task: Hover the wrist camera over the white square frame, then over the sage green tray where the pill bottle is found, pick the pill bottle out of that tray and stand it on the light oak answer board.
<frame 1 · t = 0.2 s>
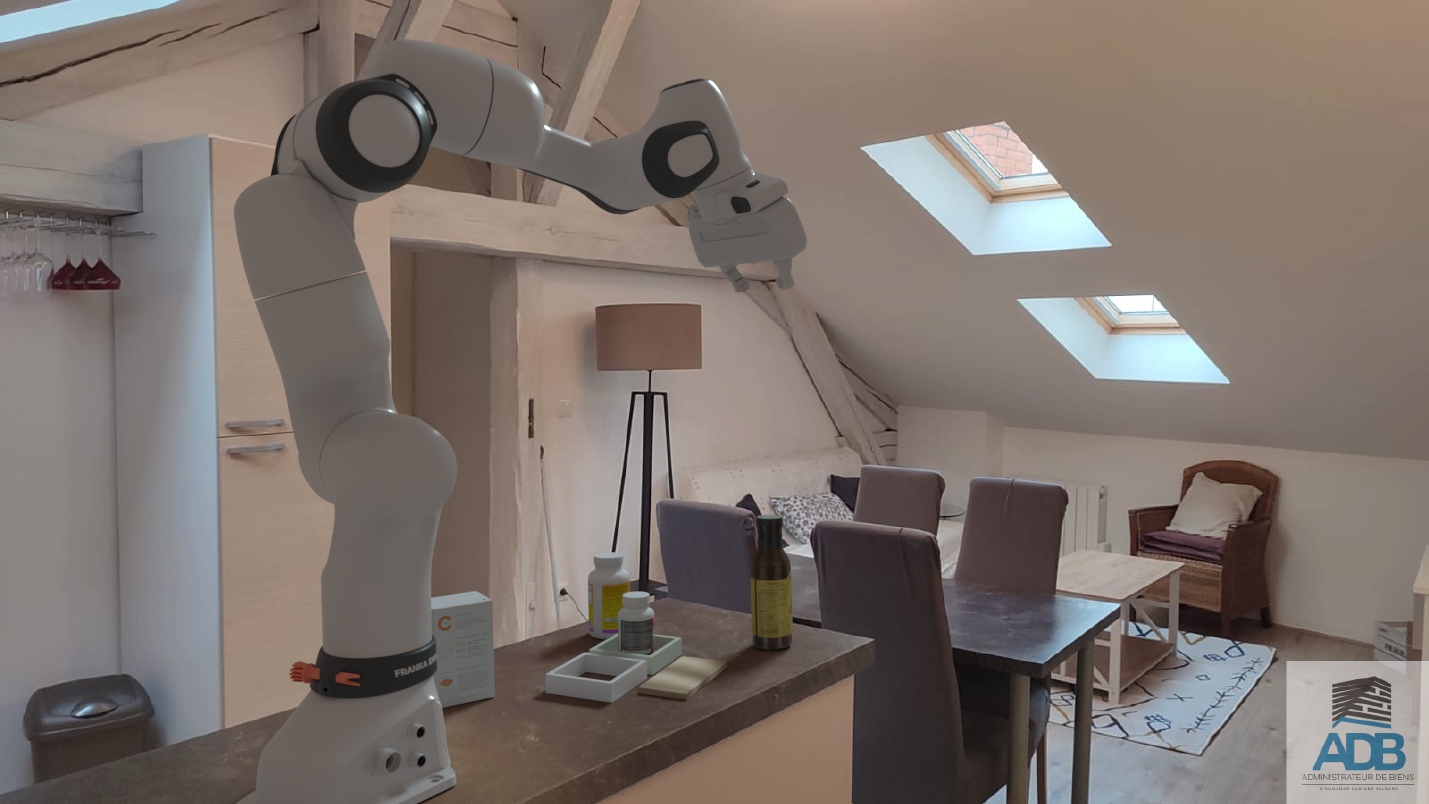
hand: (764, 289, 136), 54 cm above the kitchen counter, tool tilted 30°, fingers open, 8 cm apart
white square frame: (597, 685, 131), on the kitchen counter
answer board: (684, 679, 133), on the kitchen counter
pill bottle: (636, 661, 141), resting in sage tray
small box: (457, 698, 127), on the kitchen counter
supplement bottle: (609, 635, 155), on the kitchen counter
sauce bottle: (771, 646, 148), on the kitchen counter
sage tray: (636, 660, 141), on the kitchen counter
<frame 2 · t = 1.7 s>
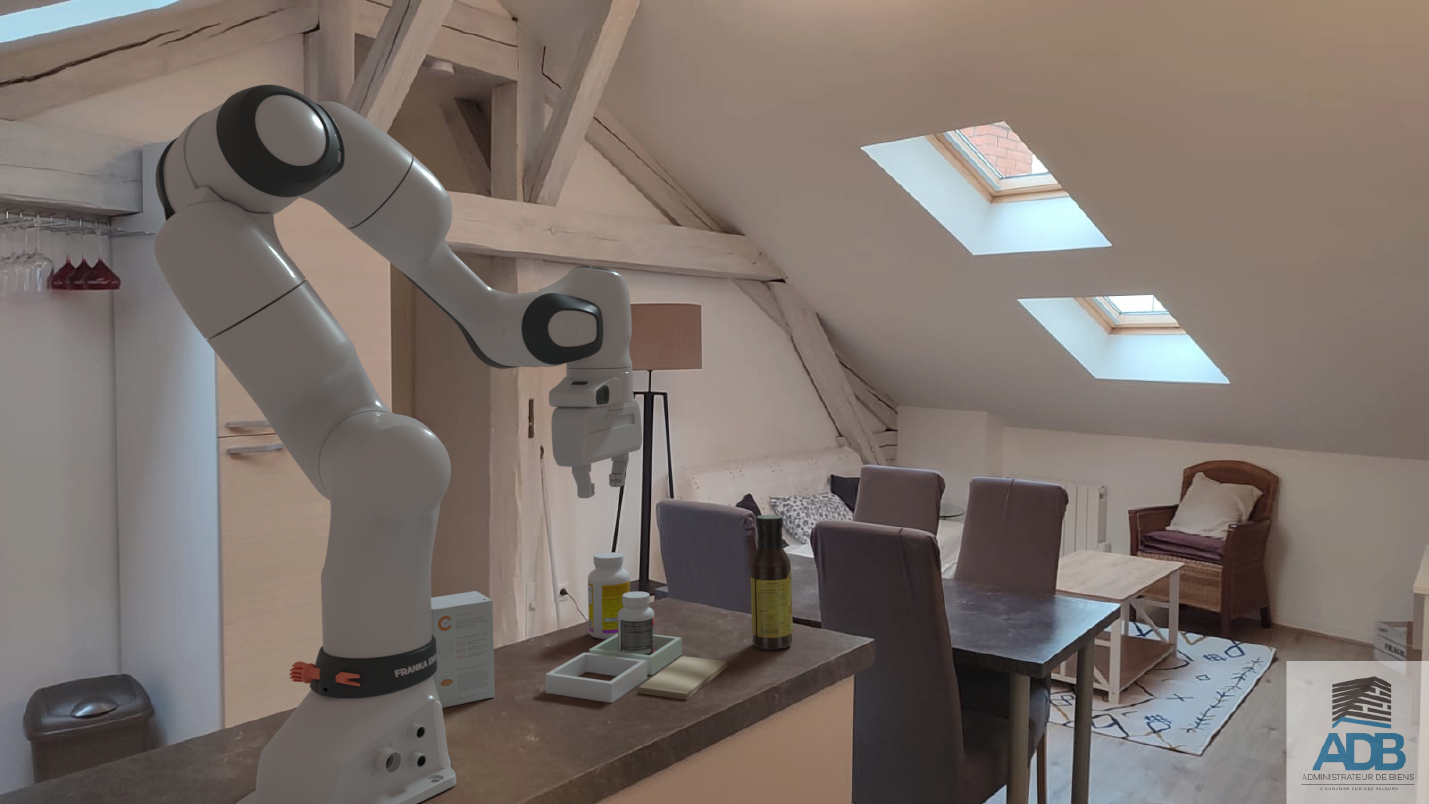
hand: (602, 491, 131), 26 cm above the kitchen counter, tool pointing down, fingers open, 8 cm apart
nothing on the kitchen counter moved.
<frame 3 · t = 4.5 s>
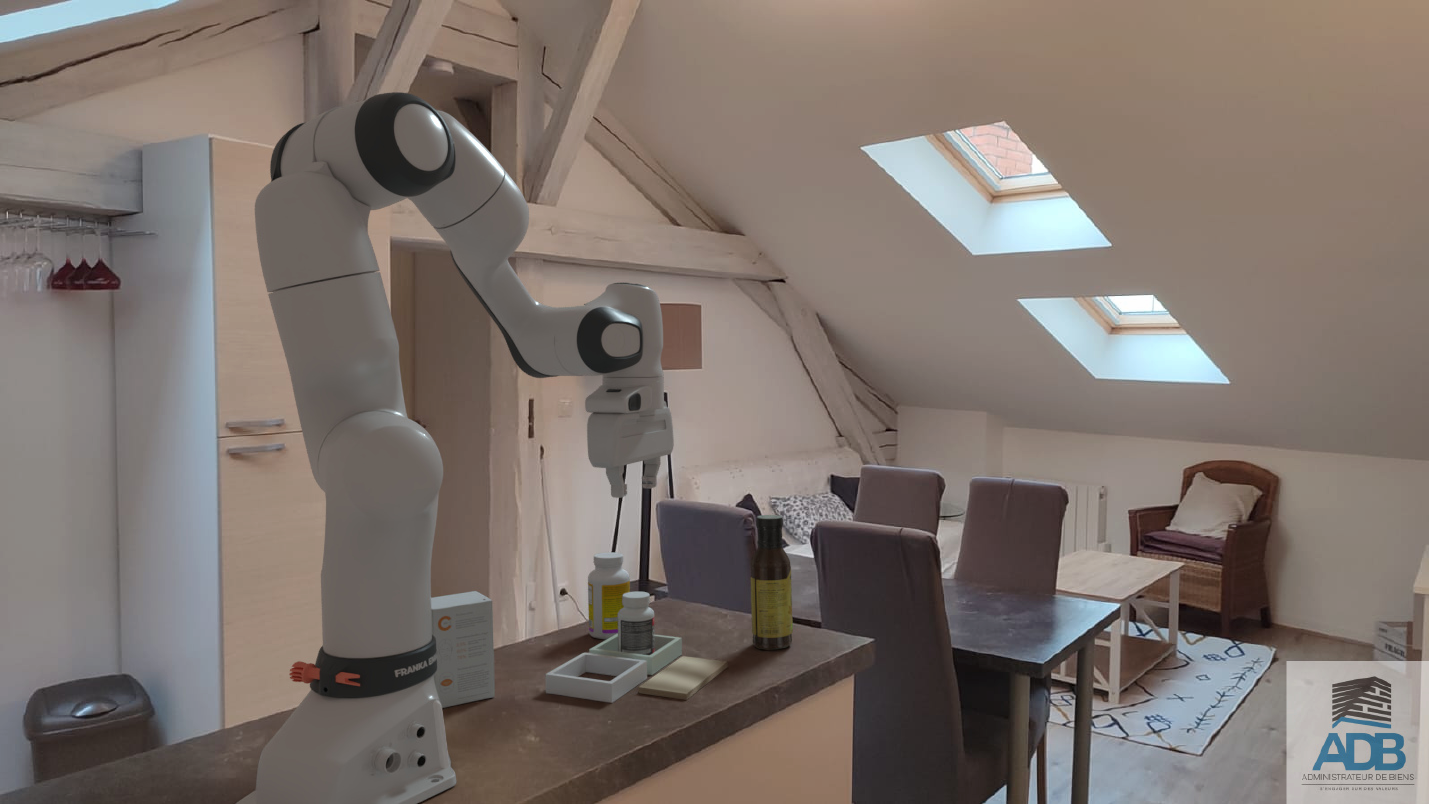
hand: (634, 492, 140), 25 cm above the kitchen counter, tool pointing down, fingers open, 8 cm apart
nothing on the kitchen counter moved.
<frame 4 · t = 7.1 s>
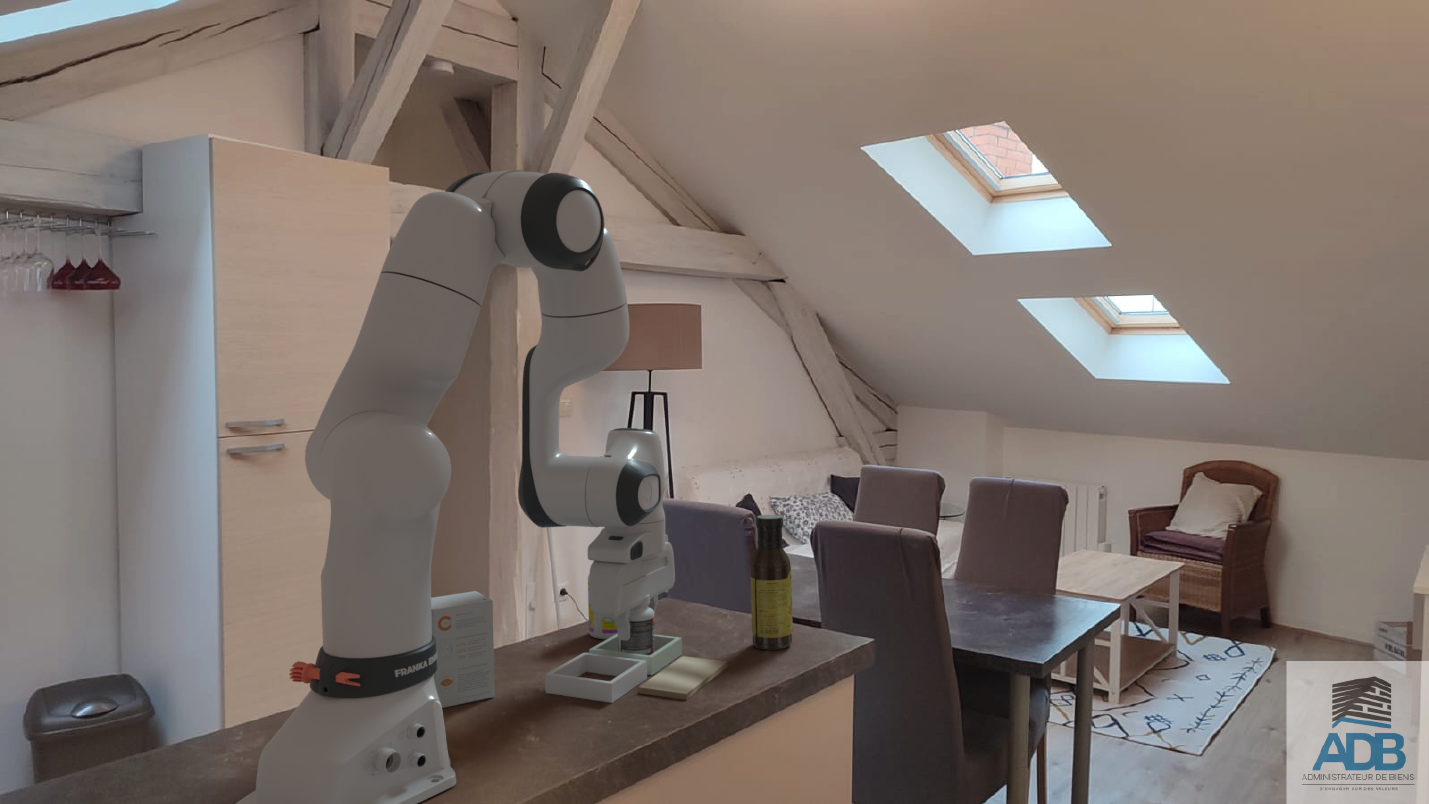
hand: (636, 632, 141), 4 cm above the kitchen counter, tool pointing down, fingers closed on pill bottle, 5 cm apart
pill bottle: (636, 661, 141), resting in sage tray, touching gripper
everything else where it was.
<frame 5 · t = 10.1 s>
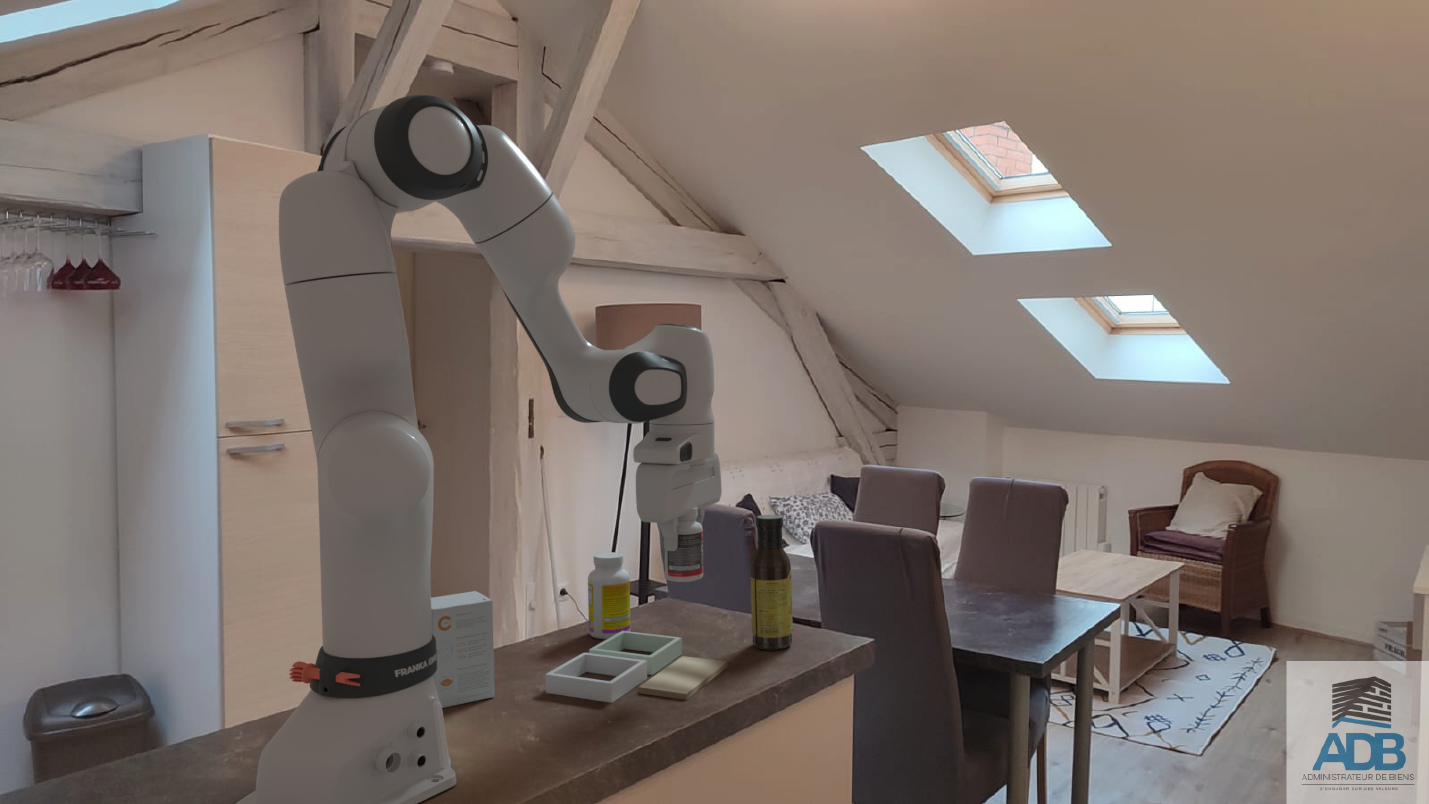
hand: (682, 545, 132), 19 cm above the kitchen counter, tool pointing down, fingers closed on pill bottle, 5 cm apart
pill bottle: (683, 579, 132), point 14 cm above the kitchen counter, touching gripper
everything else where it was.
when the fingers open (6 cm above the kitchen counter, at t = 13.1 s): pill bottle stays where it is, resting on answer board.
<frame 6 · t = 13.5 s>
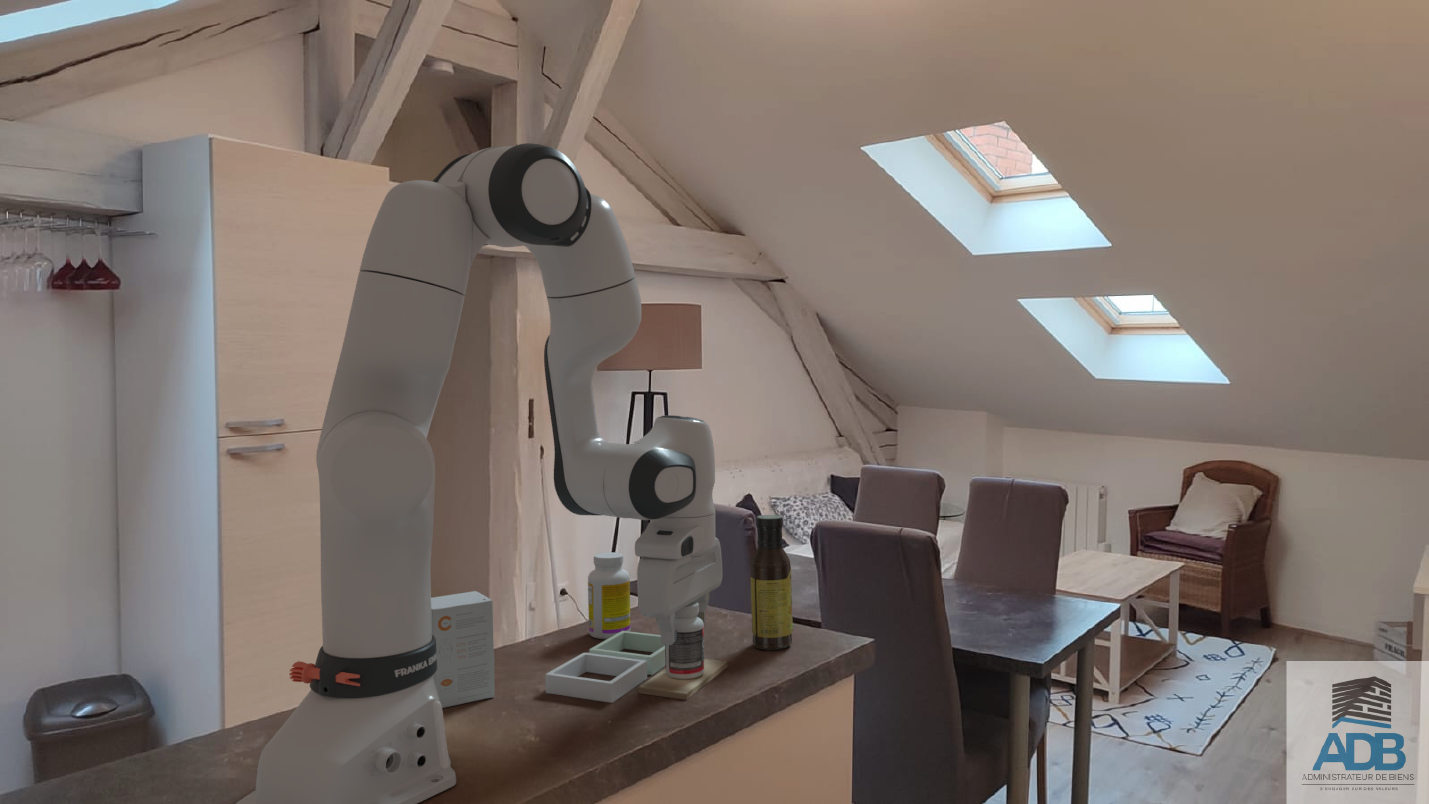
hand: (684, 633, 133), 6 cm above the kitchen counter, tool pointing down, fingers open, 8 cm apart
pill bottle: (684, 675, 133), point 1 cm above the kitchen counter, touching answer board
everything else where it was.
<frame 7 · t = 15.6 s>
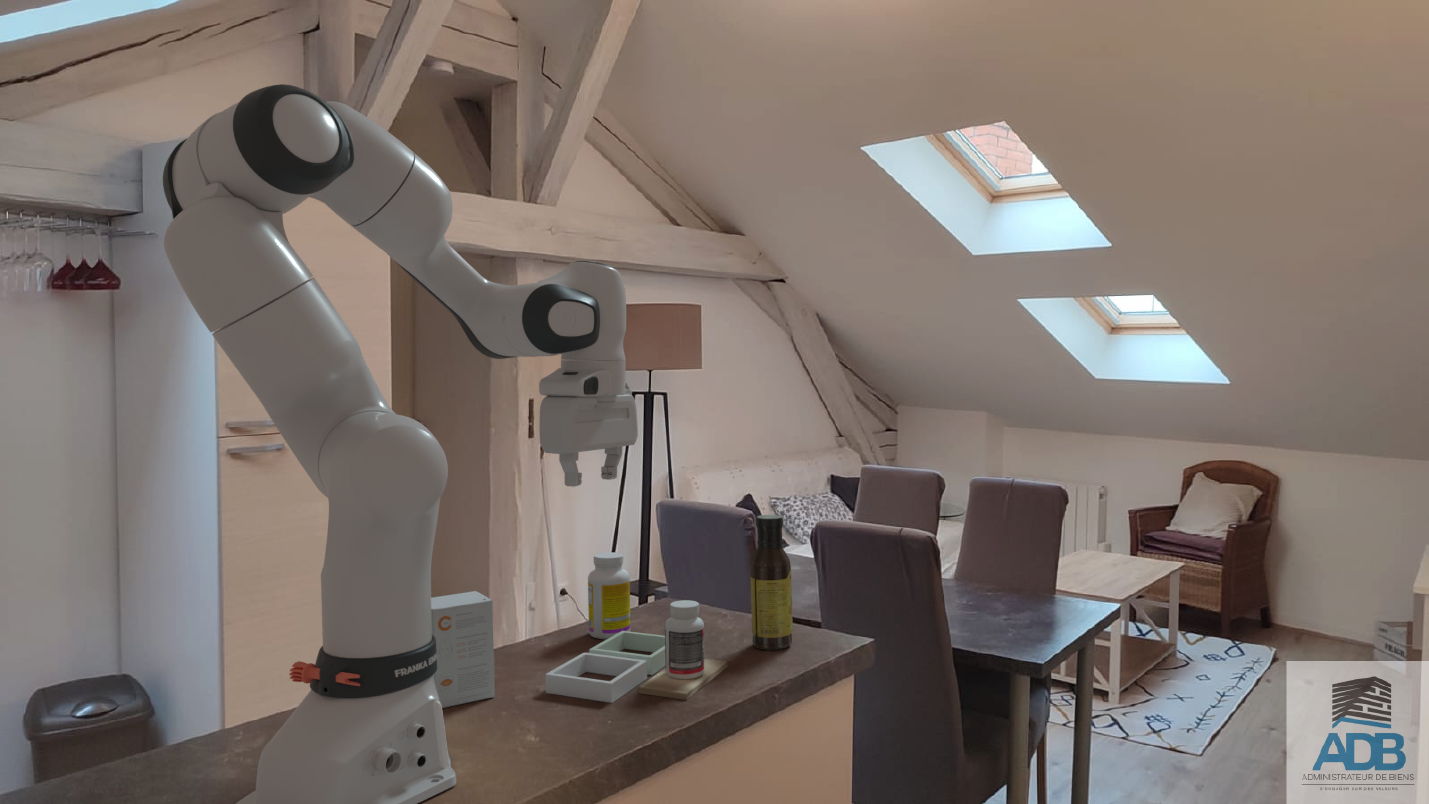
hand: (591, 482, 133), 27 cm above the kitchen counter, tool pointing down, fingers open, 8 cm apart
nothing on the kitchen counter moved.
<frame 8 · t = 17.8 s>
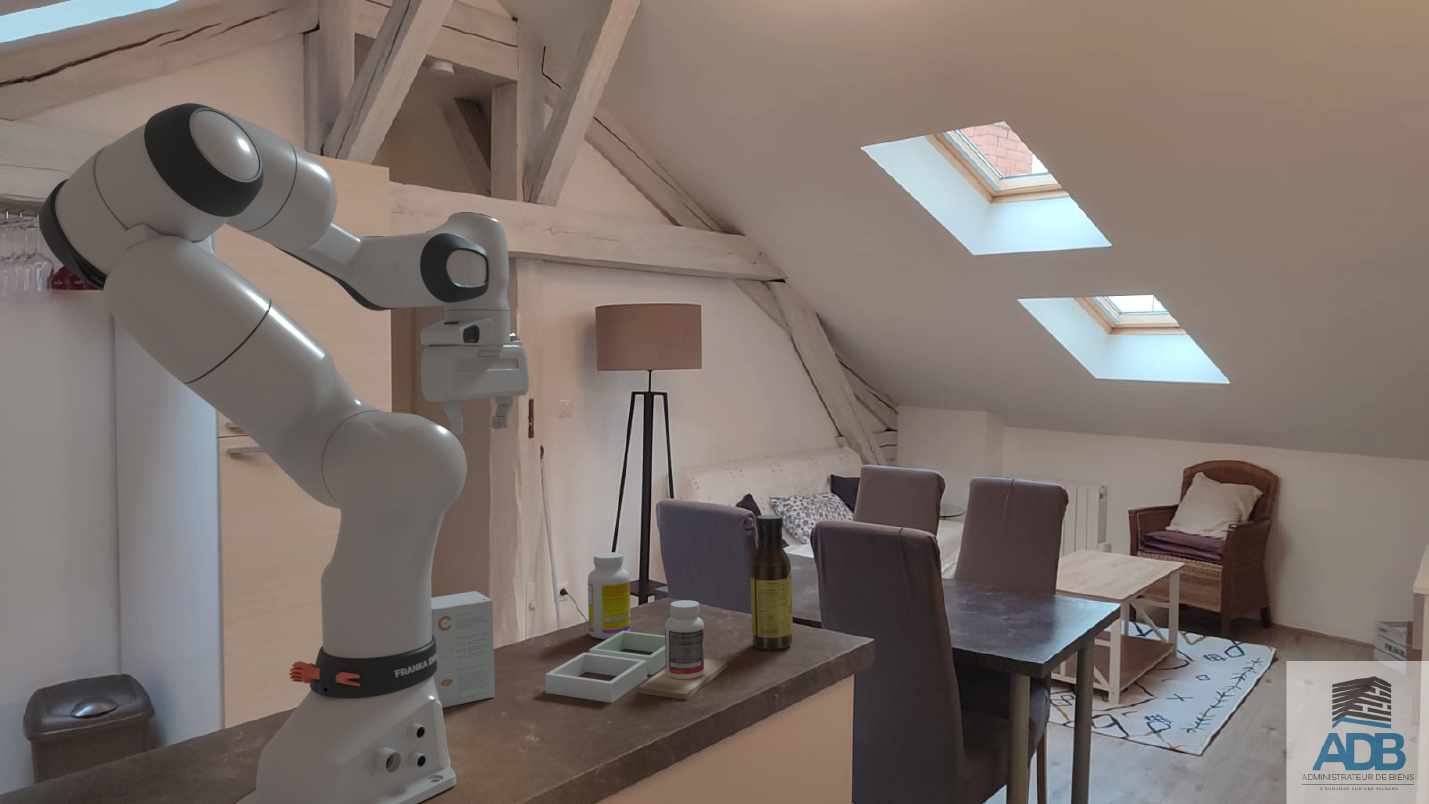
hand: (480, 431, 136), 34 cm above the kitchen counter, tool pointing down, fingers open, 8 cm apart
nothing on the kitchen counter moved.
at the end: pill bottle inside the target area on the answer board (0.1 cm from its centre), point 0.6 cm above the answer board's base; pill bottle tilted 0° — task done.
